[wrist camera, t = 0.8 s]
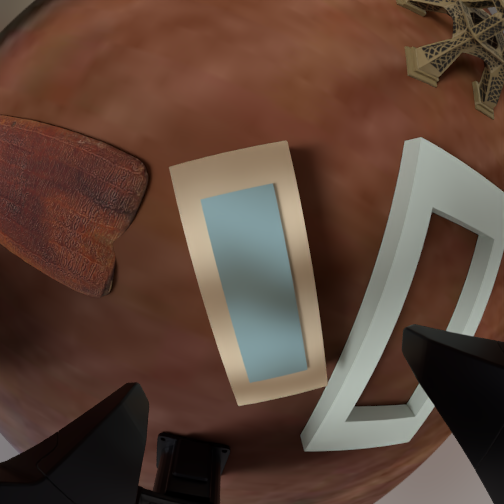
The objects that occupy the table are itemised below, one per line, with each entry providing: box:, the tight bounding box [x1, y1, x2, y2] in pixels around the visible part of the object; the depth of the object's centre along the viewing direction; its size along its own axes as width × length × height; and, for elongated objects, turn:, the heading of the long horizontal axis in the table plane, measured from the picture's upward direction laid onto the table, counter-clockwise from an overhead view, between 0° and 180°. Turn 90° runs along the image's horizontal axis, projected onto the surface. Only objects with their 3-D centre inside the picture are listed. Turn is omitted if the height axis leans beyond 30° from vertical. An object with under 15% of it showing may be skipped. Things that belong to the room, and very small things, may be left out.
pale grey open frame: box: [300, 137, 504, 451], centre depth 18 cm, size 25×12×2 cm, turn 166°
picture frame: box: [169, 140, 328, 406], centre depth 16 cm, size 15×6×3 cm, turn 12°
